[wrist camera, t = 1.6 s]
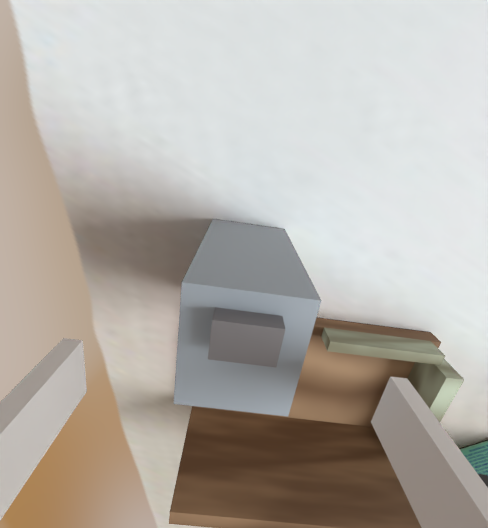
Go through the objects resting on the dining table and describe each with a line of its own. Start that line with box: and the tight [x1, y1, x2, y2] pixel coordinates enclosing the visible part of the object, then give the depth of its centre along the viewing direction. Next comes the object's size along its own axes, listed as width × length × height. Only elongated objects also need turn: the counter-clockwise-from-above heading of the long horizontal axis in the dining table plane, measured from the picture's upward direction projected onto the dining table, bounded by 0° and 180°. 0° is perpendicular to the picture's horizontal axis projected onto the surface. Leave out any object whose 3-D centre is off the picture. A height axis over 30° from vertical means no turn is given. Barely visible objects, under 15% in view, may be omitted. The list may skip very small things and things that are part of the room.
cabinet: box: [174, 219, 321, 416], centre depth 18 cm, size 7×6×13 cm
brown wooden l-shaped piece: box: [169, 318, 464, 528], centre depth 24 cm, size 13×22×10 cm, turn 82°
